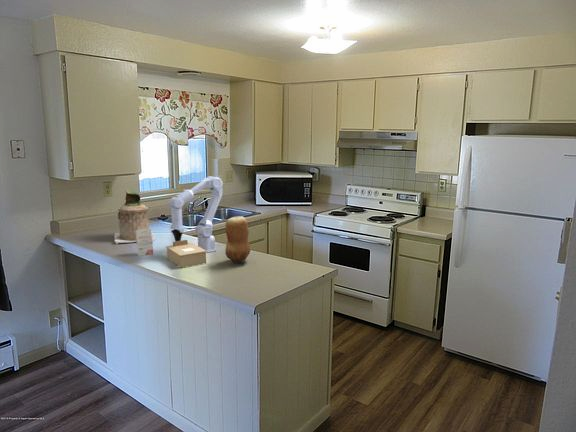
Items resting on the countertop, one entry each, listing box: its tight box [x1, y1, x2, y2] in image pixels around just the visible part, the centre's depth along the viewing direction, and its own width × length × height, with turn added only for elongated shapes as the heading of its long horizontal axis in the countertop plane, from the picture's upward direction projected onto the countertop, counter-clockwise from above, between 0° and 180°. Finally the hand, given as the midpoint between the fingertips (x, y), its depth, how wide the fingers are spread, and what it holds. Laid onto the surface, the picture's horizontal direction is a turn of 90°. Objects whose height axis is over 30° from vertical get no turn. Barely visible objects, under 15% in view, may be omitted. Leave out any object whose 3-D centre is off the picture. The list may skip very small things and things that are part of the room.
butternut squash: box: [225, 215, 251, 264], centre depth 227 cm, size 14×13×25 cm
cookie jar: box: [114, 190, 156, 245], centre depth 275 cm, size 25×25×32 cm
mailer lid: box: [165, 239, 208, 256], centre depth 230 cm, size 15×21×3 cm
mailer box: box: [166, 248, 207, 268], centre depth 231 cm, size 14×20×6 cm
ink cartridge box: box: [136, 228, 154, 256], centre depth 243 cm, size 9×5×15 cm, turn 105°
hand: (177, 242), depth 239 cm, fingers closed
